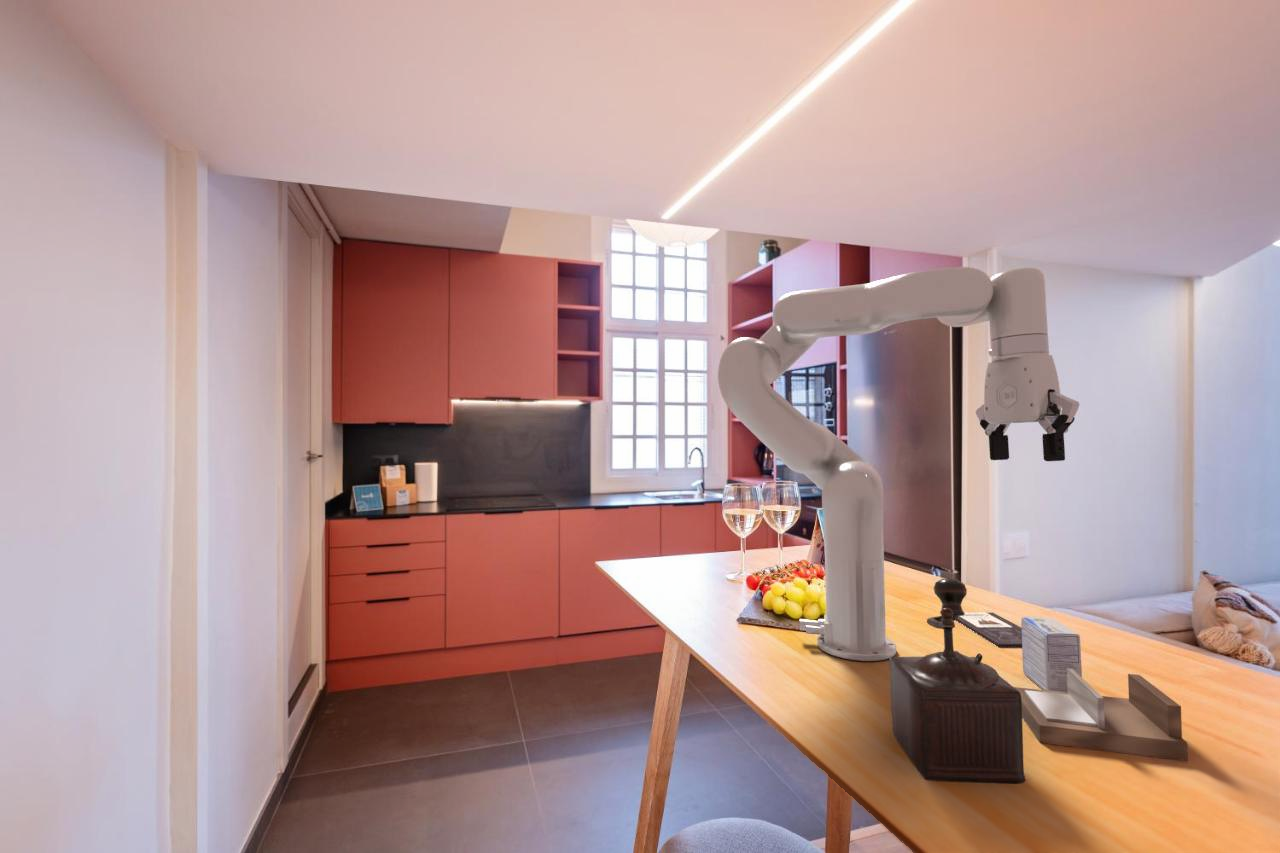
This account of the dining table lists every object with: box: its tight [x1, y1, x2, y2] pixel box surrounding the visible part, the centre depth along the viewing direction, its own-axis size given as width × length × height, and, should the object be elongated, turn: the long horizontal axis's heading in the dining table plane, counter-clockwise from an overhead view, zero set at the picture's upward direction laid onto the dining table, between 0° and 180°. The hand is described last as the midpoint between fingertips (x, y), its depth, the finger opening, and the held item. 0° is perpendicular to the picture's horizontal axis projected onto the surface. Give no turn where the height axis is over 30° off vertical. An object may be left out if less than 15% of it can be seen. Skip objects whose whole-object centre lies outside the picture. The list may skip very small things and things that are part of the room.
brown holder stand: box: [1013, 668, 1189, 762], centre depth 71 cm, size 14×11×6 cm
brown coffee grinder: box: [889, 578, 1026, 784], centre depth 68 cm, size 16×11×18 cm
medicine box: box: [1020, 616, 1083, 692], centre depth 84 cm, size 8×4×9 cm, turn 168°
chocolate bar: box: [955, 612, 1022, 648], centre depth 108 cm, size 9×1×18 cm
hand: (1025, 460), depth 90 cm, fingers open, 9 cm apart
